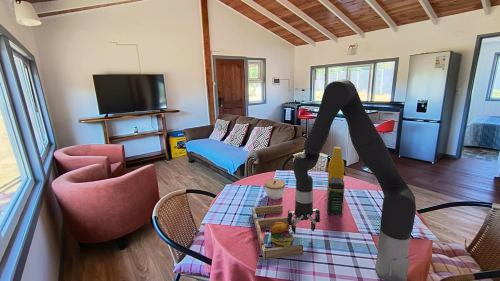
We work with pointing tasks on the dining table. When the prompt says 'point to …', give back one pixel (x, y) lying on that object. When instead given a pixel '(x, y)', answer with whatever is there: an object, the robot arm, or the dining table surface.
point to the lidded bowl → (275, 188)
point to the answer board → (262, 223)
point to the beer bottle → (336, 165)
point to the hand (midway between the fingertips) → (303, 231)
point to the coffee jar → (335, 196)
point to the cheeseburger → (281, 234)
